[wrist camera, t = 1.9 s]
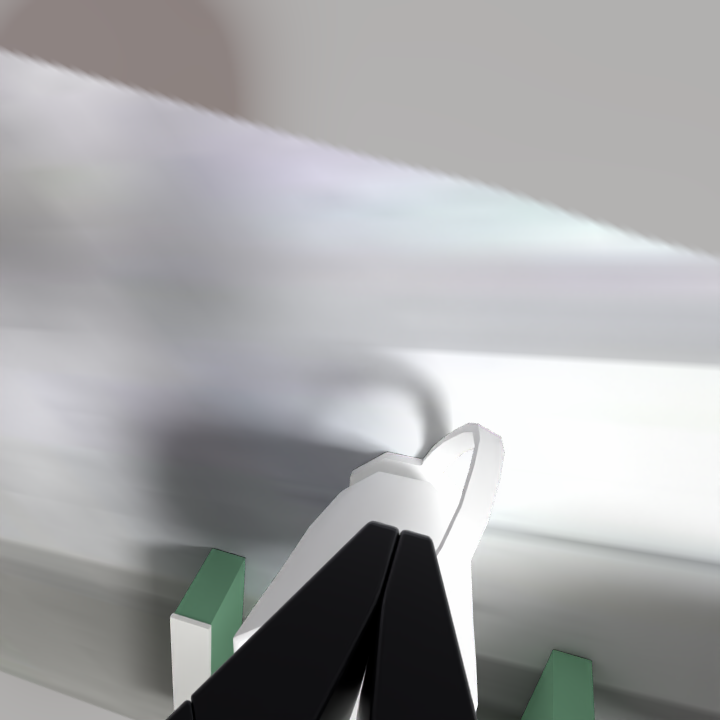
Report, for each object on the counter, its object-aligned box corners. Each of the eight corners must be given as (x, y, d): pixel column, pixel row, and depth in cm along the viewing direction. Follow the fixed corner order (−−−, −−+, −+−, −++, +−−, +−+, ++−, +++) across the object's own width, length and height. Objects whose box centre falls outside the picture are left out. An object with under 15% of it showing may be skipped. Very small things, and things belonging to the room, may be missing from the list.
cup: (285, 510, 26) (193, 698, 20) (404, 319, 21) (330, 490, 14) (440, 595, 27) (401, 810, 20) (597, 429, 21) (617, 649, 14)
